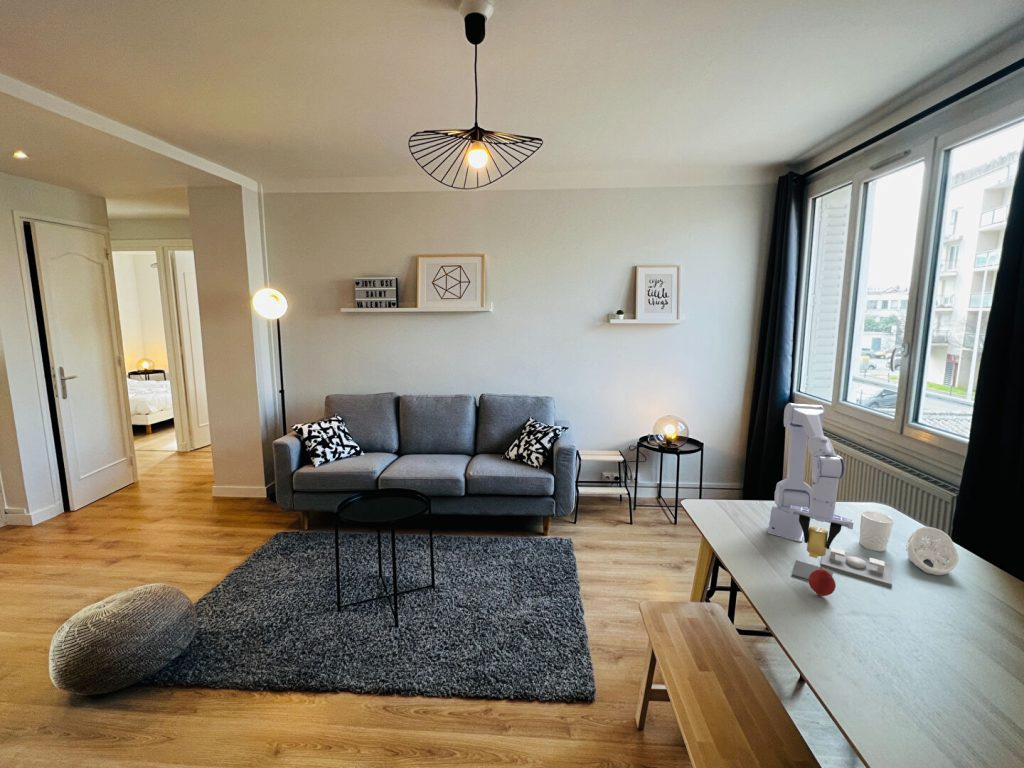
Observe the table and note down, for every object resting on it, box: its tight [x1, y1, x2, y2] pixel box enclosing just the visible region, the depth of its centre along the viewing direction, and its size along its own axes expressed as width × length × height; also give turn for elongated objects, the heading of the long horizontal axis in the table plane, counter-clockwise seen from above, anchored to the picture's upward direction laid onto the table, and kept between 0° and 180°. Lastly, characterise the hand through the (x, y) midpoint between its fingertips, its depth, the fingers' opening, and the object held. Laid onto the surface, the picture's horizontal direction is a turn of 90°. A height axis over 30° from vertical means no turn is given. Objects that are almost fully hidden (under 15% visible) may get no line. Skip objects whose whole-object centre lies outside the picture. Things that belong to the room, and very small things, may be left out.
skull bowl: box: [905, 526, 959, 576], centre depth 135 cm, size 10×14×12 cm
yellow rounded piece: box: [806, 526, 829, 559], centre depth 128 cm, size 8×4×7 cm, turn 136°
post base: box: [820, 546, 893, 588], centre depth 134 cm, size 16×12×4 cm
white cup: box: [858, 510, 894, 552], centre depth 145 cm, size 8×8×10 cm
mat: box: [791, 559, 834, 582], centre depth 130 cm, size 9×9×1 cm
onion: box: [807, 566, 837, 597], centre depth 120 cm, size 6×6×8 cm
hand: (816, 544), depth 128 cm, fingers closed on yellow rounded piece, 4 cm apart
